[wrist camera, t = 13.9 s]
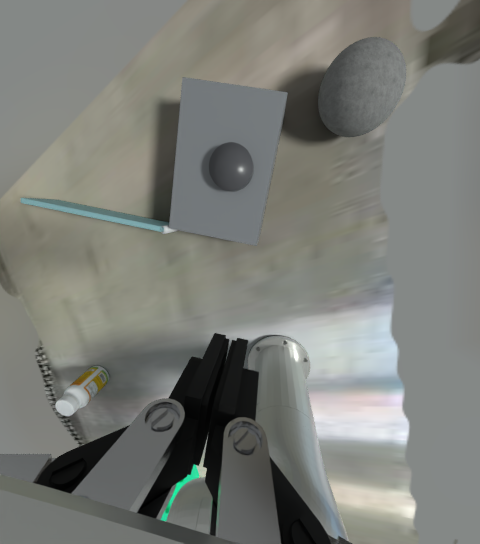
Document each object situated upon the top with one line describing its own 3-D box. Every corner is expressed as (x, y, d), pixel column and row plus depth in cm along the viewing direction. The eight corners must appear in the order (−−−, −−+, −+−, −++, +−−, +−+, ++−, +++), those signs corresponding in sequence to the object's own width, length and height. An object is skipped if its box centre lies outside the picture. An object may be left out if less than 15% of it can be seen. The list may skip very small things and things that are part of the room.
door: (183, 224, 42) (167, 226, 35) (183, 230, 42) (167, 234, 36) (57, 198, 44) (20, 196, 37) (58, 205, 44) (21, 203, 38)
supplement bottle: (86, 376, 55) (49, 410, 46) (93, 361, 53) (55, 392, 44) (106, 387, 55) (72, 423, 46) (113, 372, 53) (79, 406, 44)
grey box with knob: (258, 240, 41) (255, 247, 33) (185, 225, 42) (164, 229, 34) (284, 115, 35) (288, 85, 27) (198, 101, 36) (177, 69, 28)
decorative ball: (369, 54, 32) (411, -13, 23) (390, 125, 34) (437, 90, 24) (302, 93, 34) (314, 47, 25) (325, 157, 36) (345, 138, 27)
